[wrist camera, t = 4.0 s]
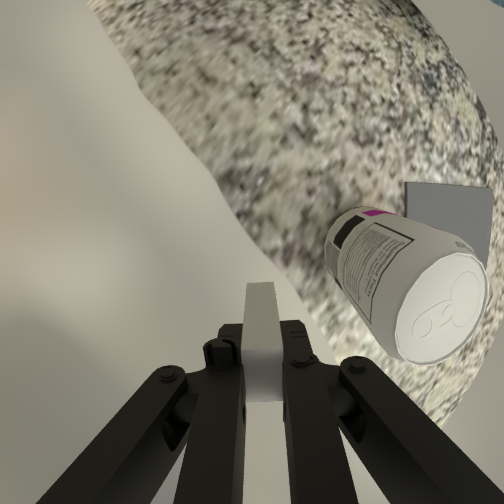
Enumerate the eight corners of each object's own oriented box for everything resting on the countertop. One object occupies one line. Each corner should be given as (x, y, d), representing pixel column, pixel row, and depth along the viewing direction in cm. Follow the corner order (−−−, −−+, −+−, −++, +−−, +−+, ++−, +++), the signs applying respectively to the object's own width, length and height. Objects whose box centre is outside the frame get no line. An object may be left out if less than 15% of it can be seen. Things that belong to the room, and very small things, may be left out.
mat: (405, 182, 25) (407, 182, 24) (490, 188, 24) (493, 189, 24) (397, 301, 28) (399, 303, 28) (480, 287, 28) (482, 289, 27)
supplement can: (382, 193, 25) (488, 216, 11) (404, 265, 27) (493, 332, 13) (309, 225, 26) (368, 283, 12) (338, 298, 28) (396, 395, 14)
